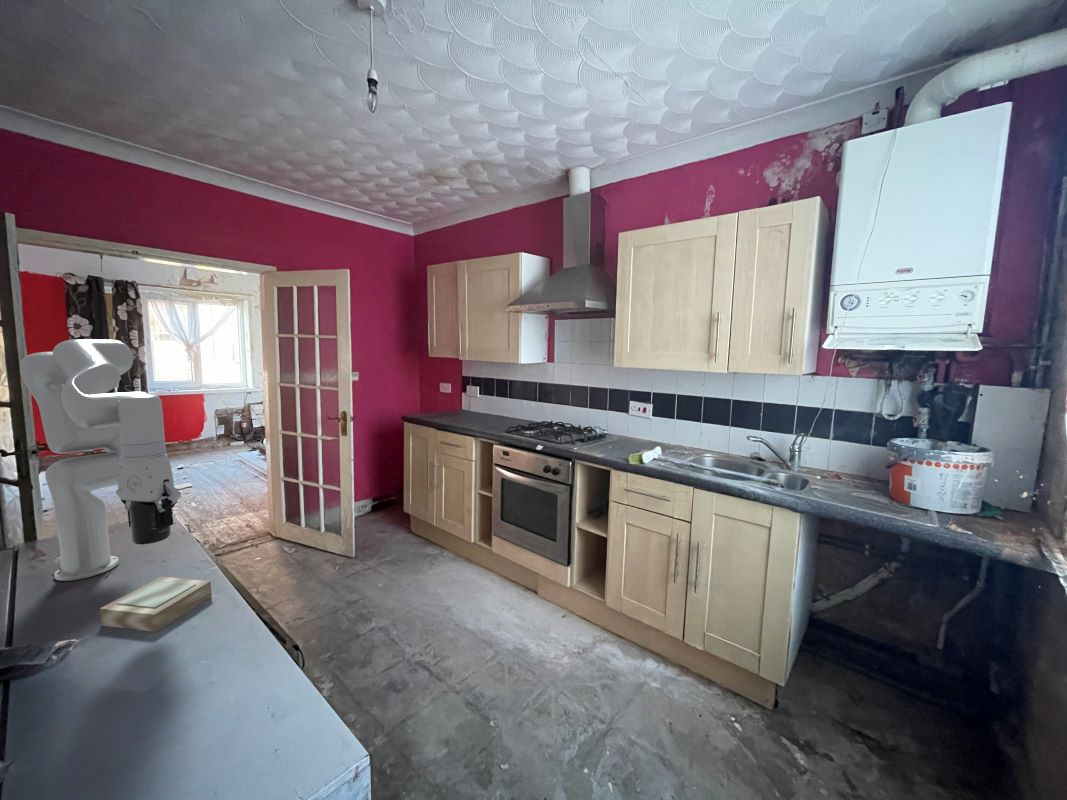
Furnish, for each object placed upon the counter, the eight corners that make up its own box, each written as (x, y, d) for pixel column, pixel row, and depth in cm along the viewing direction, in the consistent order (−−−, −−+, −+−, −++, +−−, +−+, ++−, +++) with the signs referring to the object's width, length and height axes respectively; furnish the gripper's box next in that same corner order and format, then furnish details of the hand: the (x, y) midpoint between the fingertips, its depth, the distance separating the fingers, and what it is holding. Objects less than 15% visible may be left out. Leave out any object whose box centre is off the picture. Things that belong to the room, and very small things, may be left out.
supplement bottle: (124, 543, 100) (118, 491, 98) (155, 531, 106) (150, 482, 105) (149, 546, 98) (143, 494, 97) (179, 534, 105) (174, 484, 103)
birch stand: (101, 625, 98) (99, 607, 98) (163, 591, 112) (161, 575, 112) (155, 631, 96) (153, 613, 96) (211, 596, 110) (210, 580, 110)
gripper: (93, 451, 97) (101, 529, 100) (161, 455, 95) (168, 535, 97) (128, 444, 105) (136, 517, 107) (192, 447, 102) (199, 522, 104)
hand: (151, 525), depth 102 cm, fingers closed on supplement bottle, 6 cm apart
